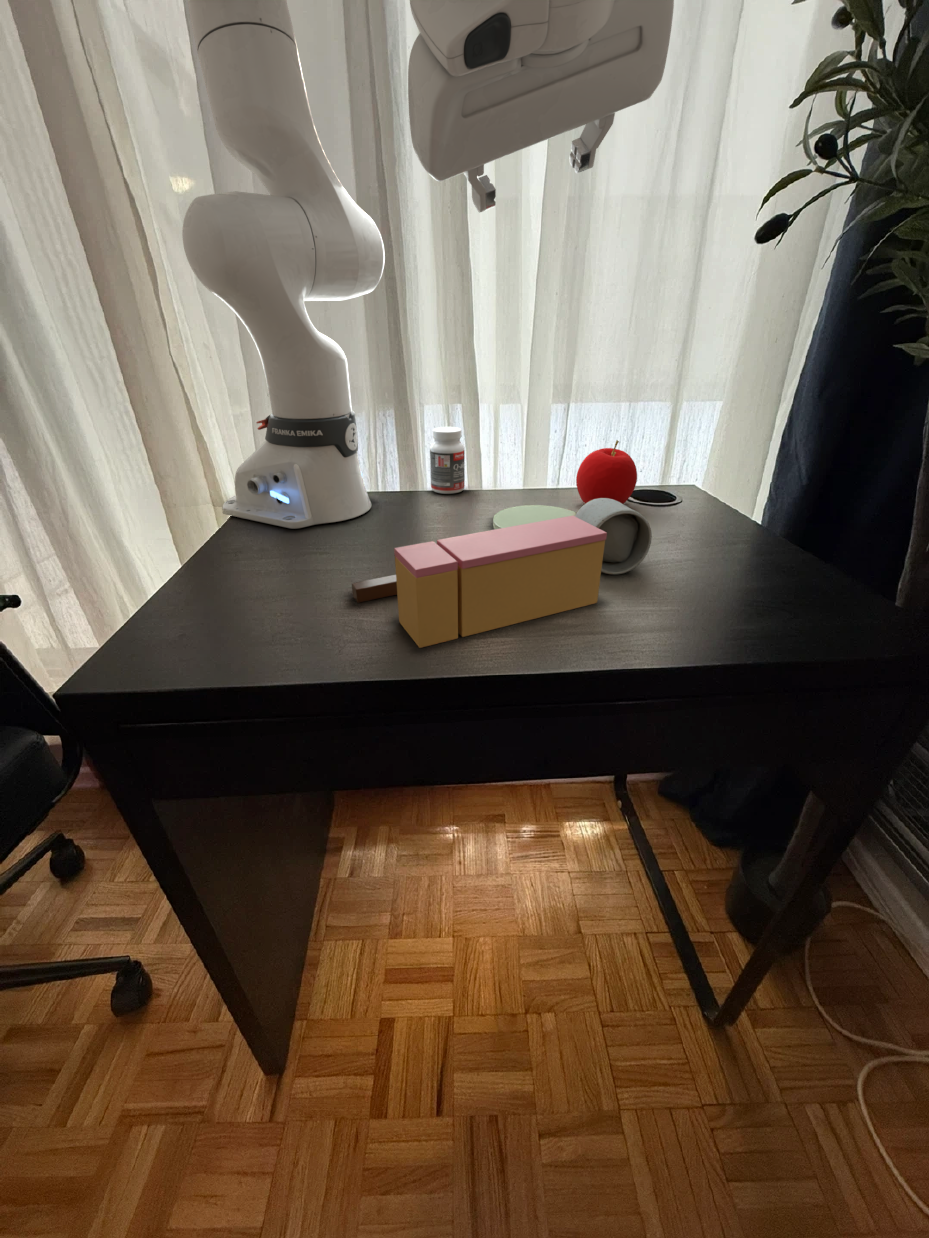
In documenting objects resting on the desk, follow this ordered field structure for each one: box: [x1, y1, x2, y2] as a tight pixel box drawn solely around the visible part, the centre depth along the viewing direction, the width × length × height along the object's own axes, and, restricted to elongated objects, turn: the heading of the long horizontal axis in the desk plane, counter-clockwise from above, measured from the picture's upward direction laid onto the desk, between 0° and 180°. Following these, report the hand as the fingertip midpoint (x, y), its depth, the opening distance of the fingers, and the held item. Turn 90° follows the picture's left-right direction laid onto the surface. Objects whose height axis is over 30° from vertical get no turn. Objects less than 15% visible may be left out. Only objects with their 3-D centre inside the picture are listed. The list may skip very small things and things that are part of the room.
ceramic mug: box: [575, 498, 653, 575], centre depth 68 cm, size 11×8×8 cm
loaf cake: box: [436, 516, 607, 638], centre depth 58 cm, size 16×6×8 cm, turn 116°
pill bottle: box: [429, 426, 466, 495], centre depth 94 cm, size 6×6×10 cm
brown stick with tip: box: [351, 574, 397, 604], centre depth 65 cm, size 20×2×2 cm, turn 116°
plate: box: [492, 504, 577, 530], centre depth 81 cm, size 13×13×1 cm
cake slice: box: [393, 540, 459, 649], centre depth 54 cm, size 4×6×8 cm
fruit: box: [575, 439, 638, 505], centre depth 86 cm, size 9×9×10 cm
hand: (532, 185), depth 50 cm, fingers open, 8 cm apart
